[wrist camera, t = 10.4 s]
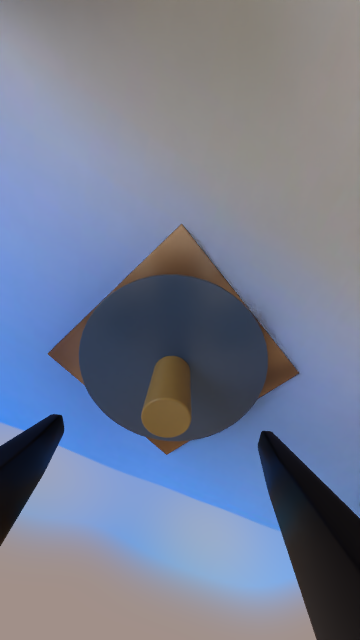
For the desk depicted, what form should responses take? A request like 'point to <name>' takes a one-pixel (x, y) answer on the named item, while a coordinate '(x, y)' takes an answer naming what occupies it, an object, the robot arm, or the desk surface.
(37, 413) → the desk surface
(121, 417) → the tin lid
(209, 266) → the coaster
